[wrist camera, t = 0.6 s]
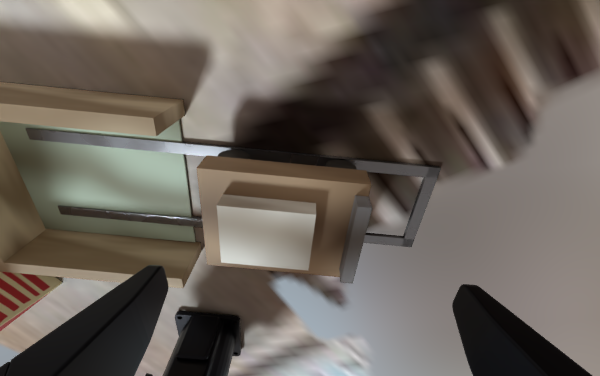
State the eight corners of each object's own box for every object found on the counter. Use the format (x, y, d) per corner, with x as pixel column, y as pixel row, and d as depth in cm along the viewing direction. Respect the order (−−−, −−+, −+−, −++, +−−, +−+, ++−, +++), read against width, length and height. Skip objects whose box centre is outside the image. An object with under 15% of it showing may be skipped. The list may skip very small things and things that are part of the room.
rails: (410, 244, 24) (411, 247, 23) (63, 212, 23) (60, 214, 23) (439, 166, 20) (440, 168, 20) (28, 127, 20) (25, 128, 19)
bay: (201, 251, 25) (183, 288, 21) (39, 236, 25) (-5, 271, 21) (183, 99, 18) (153, 118, 15) (-37, 78, 18) (-119, 92, 15)
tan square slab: (344, 244, 23) (350, 291, 19) (221, 232, 23) (201, 278, 19) (362, 159, 19) (375, 195, 15) (214, 144, 19) (188, 178, 15)
